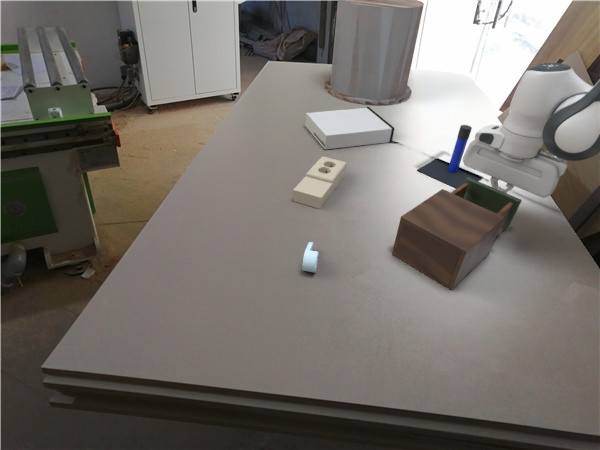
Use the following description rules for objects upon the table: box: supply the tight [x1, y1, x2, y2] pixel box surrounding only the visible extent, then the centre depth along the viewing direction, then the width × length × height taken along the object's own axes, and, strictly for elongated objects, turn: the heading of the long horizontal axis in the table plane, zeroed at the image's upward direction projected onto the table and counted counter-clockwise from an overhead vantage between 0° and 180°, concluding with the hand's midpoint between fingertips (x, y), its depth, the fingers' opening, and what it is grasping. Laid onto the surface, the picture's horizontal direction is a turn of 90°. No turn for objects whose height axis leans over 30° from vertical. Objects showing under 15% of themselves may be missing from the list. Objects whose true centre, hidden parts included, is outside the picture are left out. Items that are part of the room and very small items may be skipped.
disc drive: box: [304, 106, 395, 150], centre depth 128 cm, size 18×22×5 cm
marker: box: [448, 124, 473, 173], centre depth 108 cm, size 3×3×13 cm
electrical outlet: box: [292, 155, 348, 210], centre depth 101 cm, size 7×4×18 cm
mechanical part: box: [301, 241, 319, 273], centre depth 79 cm, size 8×2×4 cm, turn 169°
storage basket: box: [324, 0, 425, 106], centre depth 155 cm, size 35×35×32 cm
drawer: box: [450, 177, 523, 235], centre depth 89 cm, size 19×12×8 cm, turn 134°
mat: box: [416, 157, 484, 190], centre depth 112 cm, size 14×14×1 cm
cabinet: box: [391, 188, 504, 291], centre depth 81 cm, size 16×14×10 cm
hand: (497, 195), depth 95 cm, fingers closed
